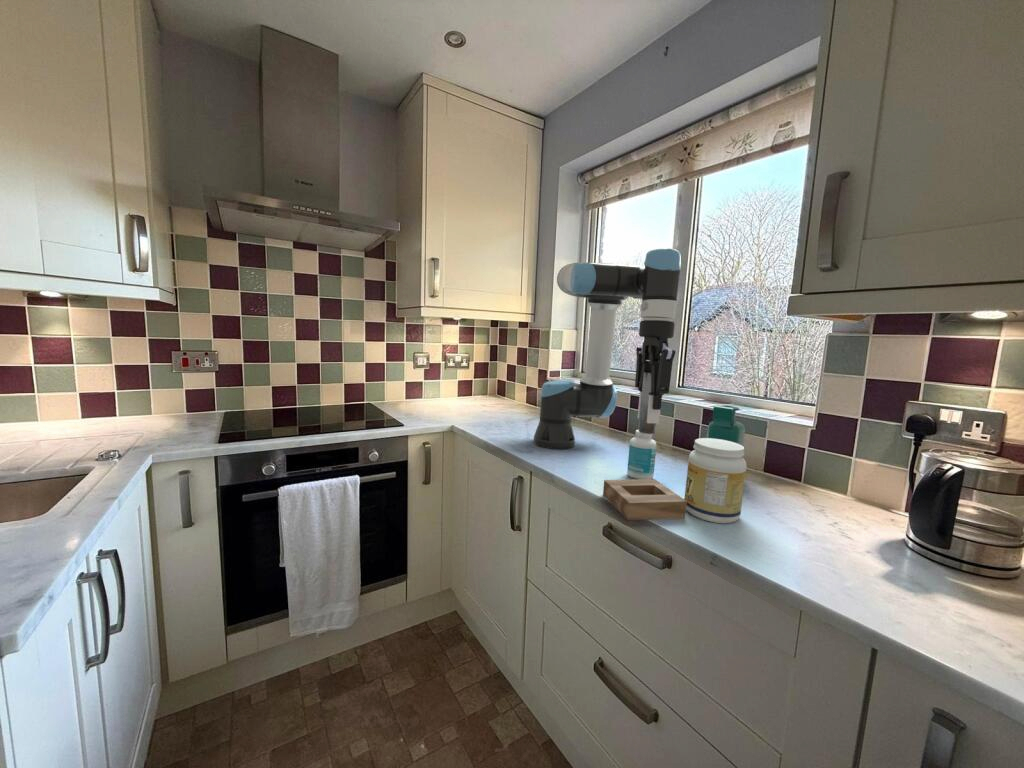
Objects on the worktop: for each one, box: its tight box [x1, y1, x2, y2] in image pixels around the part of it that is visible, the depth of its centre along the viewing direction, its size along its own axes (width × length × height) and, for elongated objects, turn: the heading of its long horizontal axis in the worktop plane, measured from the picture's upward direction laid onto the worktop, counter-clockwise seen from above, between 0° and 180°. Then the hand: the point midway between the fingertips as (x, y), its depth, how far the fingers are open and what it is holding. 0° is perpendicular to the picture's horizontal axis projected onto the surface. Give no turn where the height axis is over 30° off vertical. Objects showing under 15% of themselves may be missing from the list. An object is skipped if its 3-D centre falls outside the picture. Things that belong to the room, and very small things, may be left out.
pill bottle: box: [626, 429, 657, 480], centre depth 120 cm, size 8×7×14 cm
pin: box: [637, 372, 657, 435], centre depth 96 cm, size 4×4×14 cm
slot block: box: [602, 478, 687, 521], centre depth 99 cm, size 14×14×4 cm
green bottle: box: [706, 405, 746, 447], centre depth 121 cm, size 10×8×22 cm
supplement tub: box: [683, 437, 748, 524], centre depth 96 cm, size 12×12×17 cm
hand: (648, 420), depth 97 cm, fingers closed on pin, 4 cm apart
